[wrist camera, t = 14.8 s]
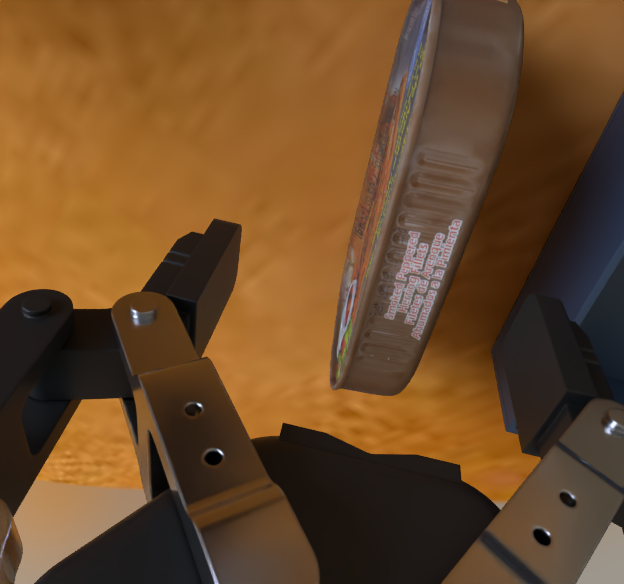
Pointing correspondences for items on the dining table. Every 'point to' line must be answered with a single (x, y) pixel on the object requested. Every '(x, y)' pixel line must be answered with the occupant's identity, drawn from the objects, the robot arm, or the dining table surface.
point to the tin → (424, 184)
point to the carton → (585, 263)
